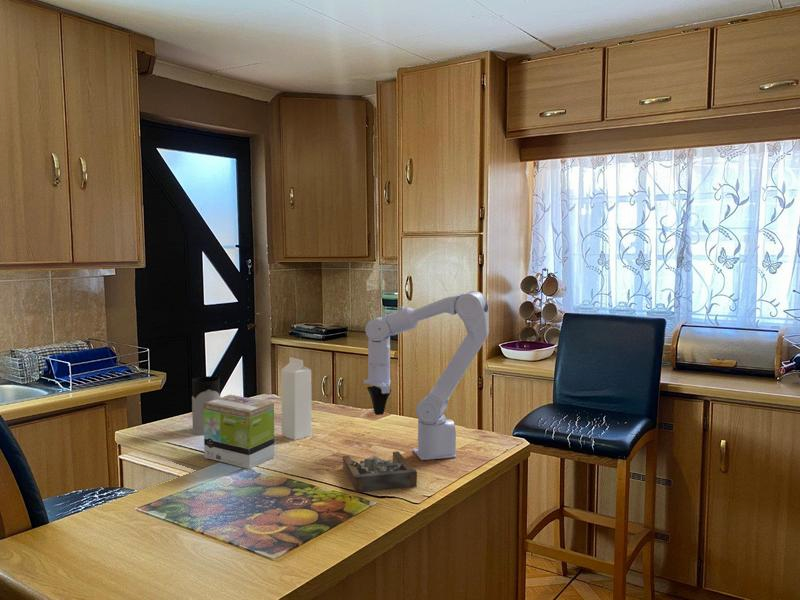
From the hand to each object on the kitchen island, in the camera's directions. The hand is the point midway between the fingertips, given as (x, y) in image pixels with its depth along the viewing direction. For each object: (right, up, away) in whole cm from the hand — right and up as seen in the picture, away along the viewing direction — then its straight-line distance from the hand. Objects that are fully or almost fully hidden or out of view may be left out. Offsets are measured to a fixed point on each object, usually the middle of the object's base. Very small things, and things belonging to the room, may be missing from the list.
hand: (378, 414), depth 168 cm
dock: (0, -11, -18) cm, 22 cm away
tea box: (-35, -10, -7) cm, 37 cm away
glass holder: (-51, -7, +18) cm, 55 cm away
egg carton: (0, -12, -19) cm, 22 cm away
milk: (-24, -8, +11) cm, 27 cm away
